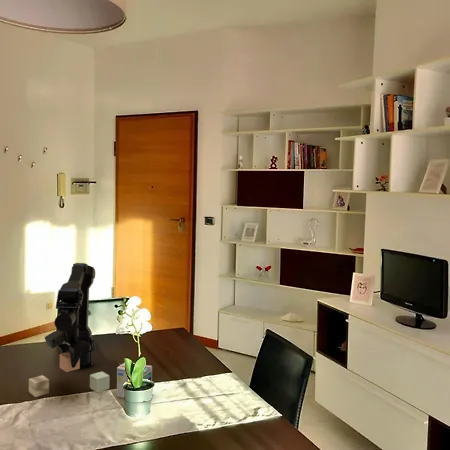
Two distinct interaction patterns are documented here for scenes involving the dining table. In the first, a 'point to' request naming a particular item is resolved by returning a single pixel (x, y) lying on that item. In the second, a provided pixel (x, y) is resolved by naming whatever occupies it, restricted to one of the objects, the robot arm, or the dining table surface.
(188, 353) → the dining table surface
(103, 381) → the sage block
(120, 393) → the light bulb box
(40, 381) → the birch block
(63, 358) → the terracotta block
